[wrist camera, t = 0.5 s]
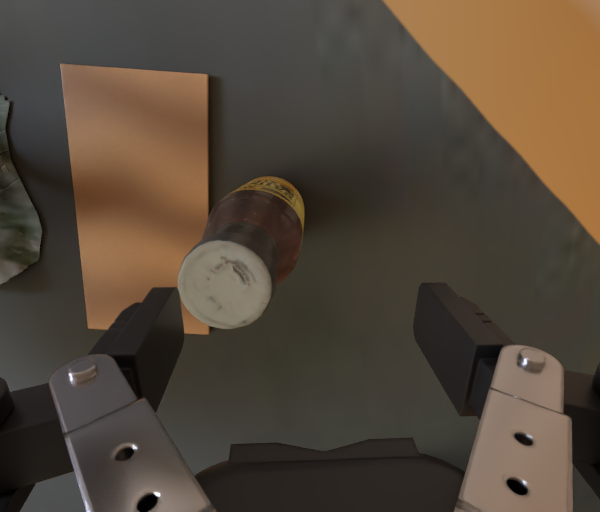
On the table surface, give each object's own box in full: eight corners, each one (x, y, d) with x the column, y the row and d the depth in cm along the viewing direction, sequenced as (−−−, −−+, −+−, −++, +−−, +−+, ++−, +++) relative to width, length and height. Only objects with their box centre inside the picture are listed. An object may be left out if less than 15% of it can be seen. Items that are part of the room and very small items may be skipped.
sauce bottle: (299, 170, 33) (306, 197, 14) (308, 237, 35) (324, 342, 16) (227, 180, 33) (138, 219, 14) (239, 246, 35) (174, 360, 16)
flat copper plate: (209, 332, 37) (208, 334, 37) (90, 326, 37) (88, 328, 37) (208, 75, 31) (207, 74, 30) (63, 64, 30) (59, 63, 30)
